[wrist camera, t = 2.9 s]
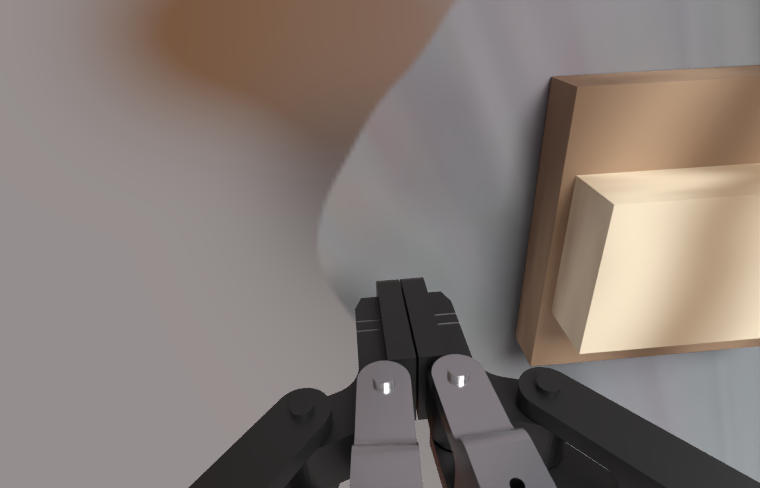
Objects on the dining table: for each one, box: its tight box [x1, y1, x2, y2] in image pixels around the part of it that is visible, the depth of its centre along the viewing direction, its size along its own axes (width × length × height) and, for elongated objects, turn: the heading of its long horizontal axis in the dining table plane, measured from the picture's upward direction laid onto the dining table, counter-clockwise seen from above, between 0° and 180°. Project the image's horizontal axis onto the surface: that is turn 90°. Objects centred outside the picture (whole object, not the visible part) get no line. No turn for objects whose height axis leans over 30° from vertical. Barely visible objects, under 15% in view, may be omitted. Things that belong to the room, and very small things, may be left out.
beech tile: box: [551, 163, 760, 354], centre depth 16 cm, size 9×6×2 cm, turn 92°
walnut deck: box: [515, 65, 760, 366], centre depth 18 cm, size 12×12×2 cm
